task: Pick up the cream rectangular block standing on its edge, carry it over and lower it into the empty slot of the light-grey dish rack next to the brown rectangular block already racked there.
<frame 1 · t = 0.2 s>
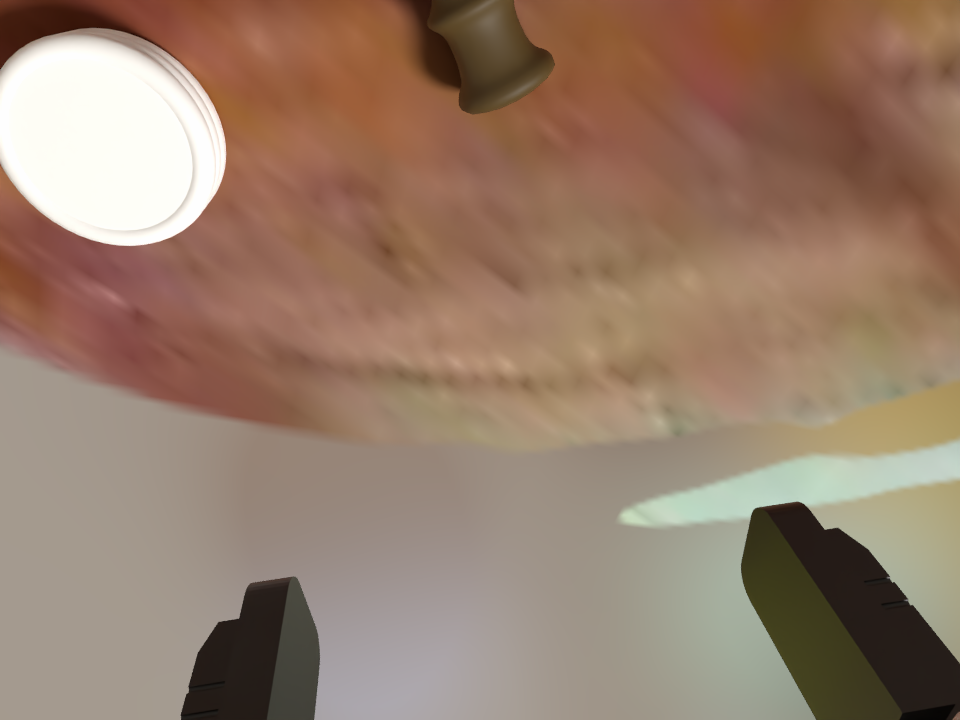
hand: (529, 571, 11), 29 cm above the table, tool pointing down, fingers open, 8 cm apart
white round tin: (129, 133, 33), on the table
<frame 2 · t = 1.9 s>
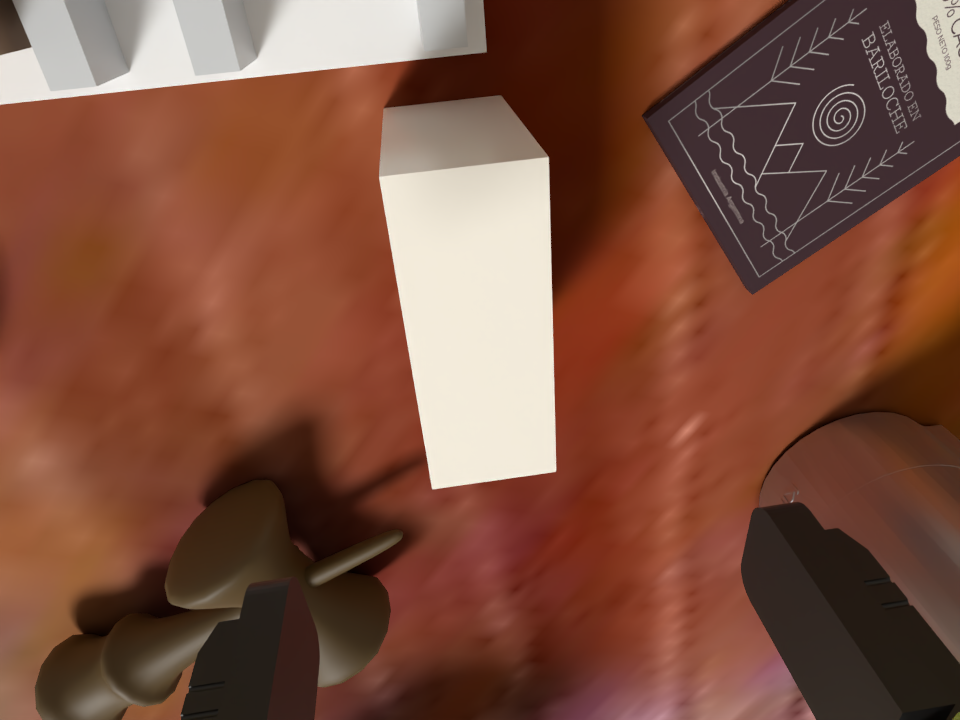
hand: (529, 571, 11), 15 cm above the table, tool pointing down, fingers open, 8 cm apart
kendama: (240, 567, 33), on the table
chocolate bar: (908, 47, 23), on the table
cream rectangular block: (457, 239, 24), on the table
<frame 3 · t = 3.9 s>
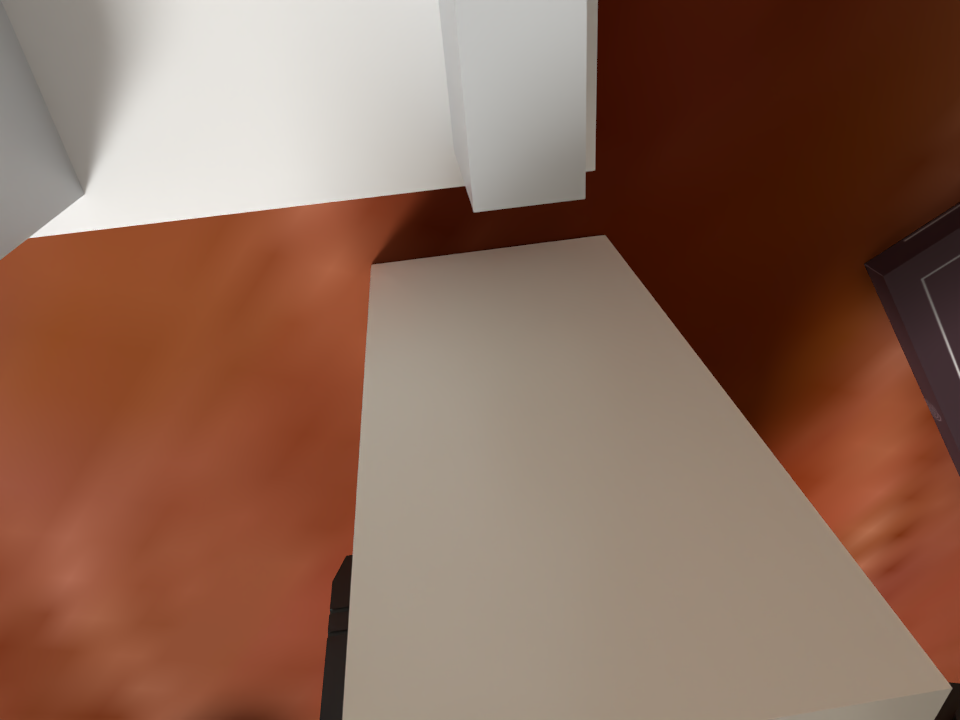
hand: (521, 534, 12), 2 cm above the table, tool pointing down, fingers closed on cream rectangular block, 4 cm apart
cream rectangular block: (507, 468, 13), on the table, touching gripper
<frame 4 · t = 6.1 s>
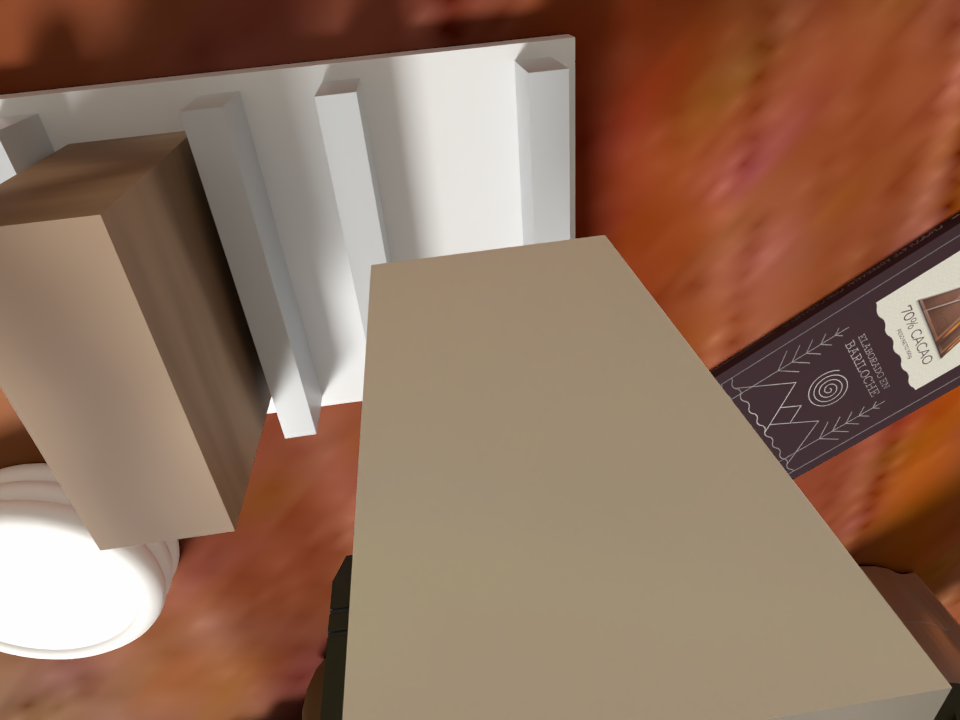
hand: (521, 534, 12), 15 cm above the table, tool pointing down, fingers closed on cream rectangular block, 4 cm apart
dish rack: (324, 250, 24), on the table
brown rectangular block: (184, 277, 23), resting on dish rack
white round tin: (74, 532, 31), on the table
kendama: (347, 693, 41), on the table
chocolate bar: (880, 336, 30), on the table
cream rectangular block: (507, 468, 13), point 13 cm above the table, touching gripper
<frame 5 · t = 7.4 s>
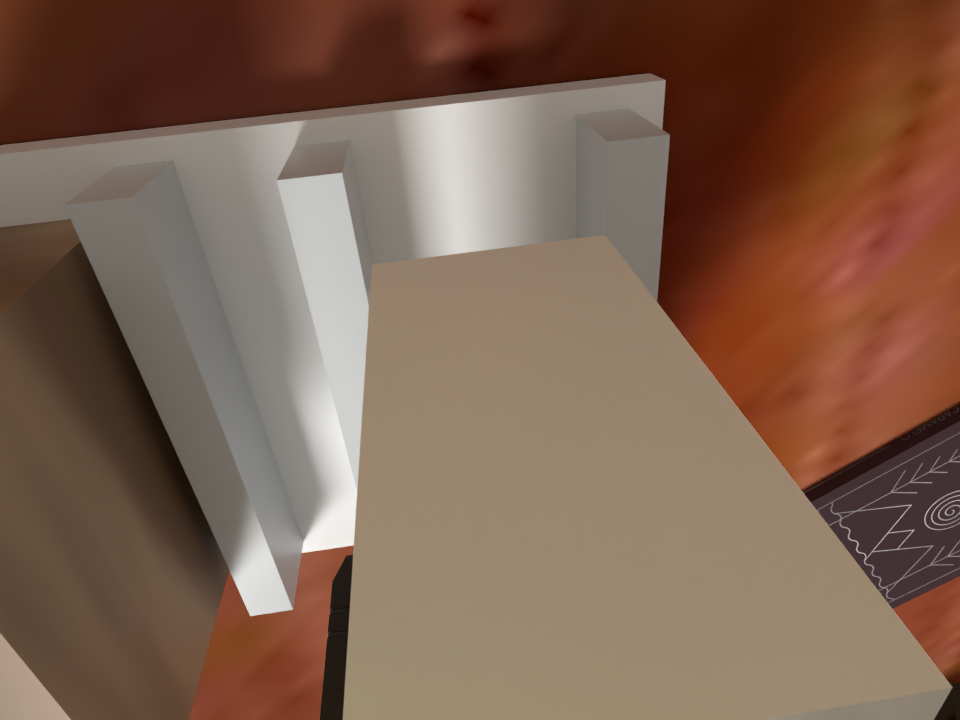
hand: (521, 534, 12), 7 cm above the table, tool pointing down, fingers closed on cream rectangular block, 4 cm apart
dish rack: (304, 361, 18), on the table
brown rectangular block: (108, 406, 17), resting on dish rack
cream rectangular block: (507, 468, 13), point 5 cm above the table, touching gripper
when the fingers open (4 cm above the table, at t = 8.3 s): cream rectangular block drops 2 cm, resting on dish rack.
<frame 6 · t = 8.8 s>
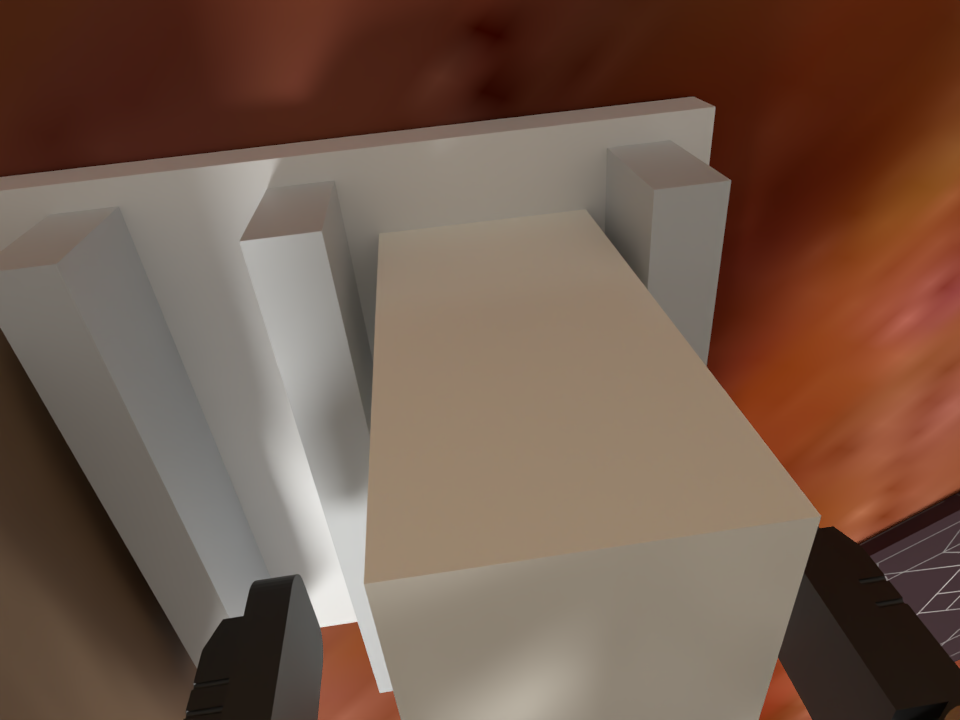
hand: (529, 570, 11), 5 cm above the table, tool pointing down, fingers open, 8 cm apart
dish rack: (286, 425, 15), on the table
brown rectangular block: (56, 484, 14), resting on dish rack
cream rectangular block: (499, 425, 15), point 1 cm above the table, touching dish rack
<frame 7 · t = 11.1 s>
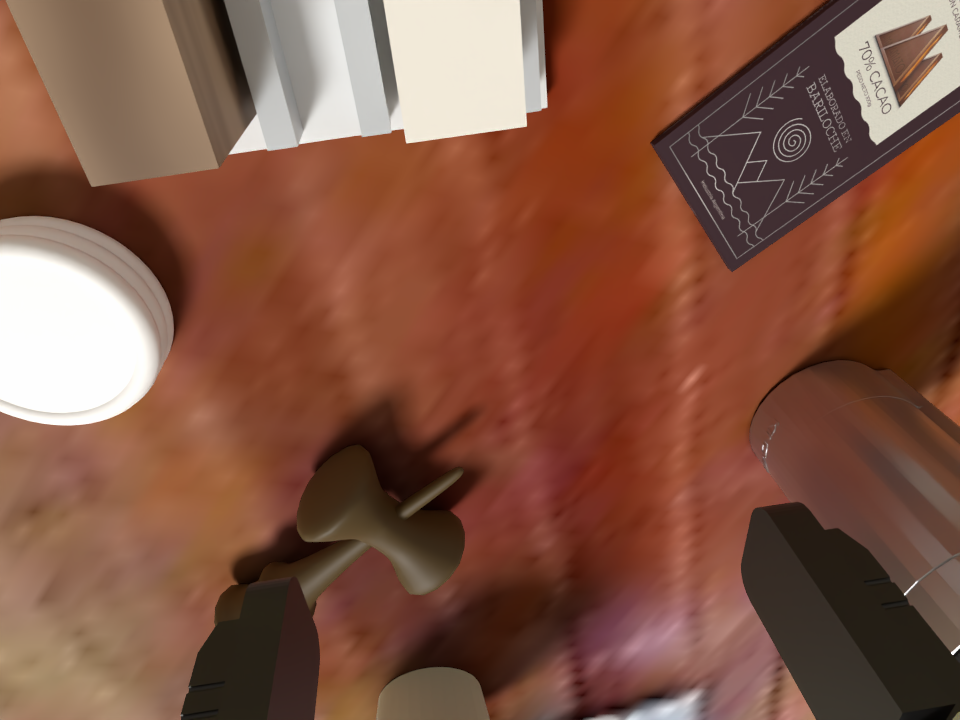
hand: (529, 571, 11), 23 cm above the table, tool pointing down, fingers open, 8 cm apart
reusable coffee cup: (430, 694, 55), on the table
white round tin: (70, 306, 32), on the table
kendama: (346, 517, 43), on the table
chocolate bar: (841, 89, 32), on the table
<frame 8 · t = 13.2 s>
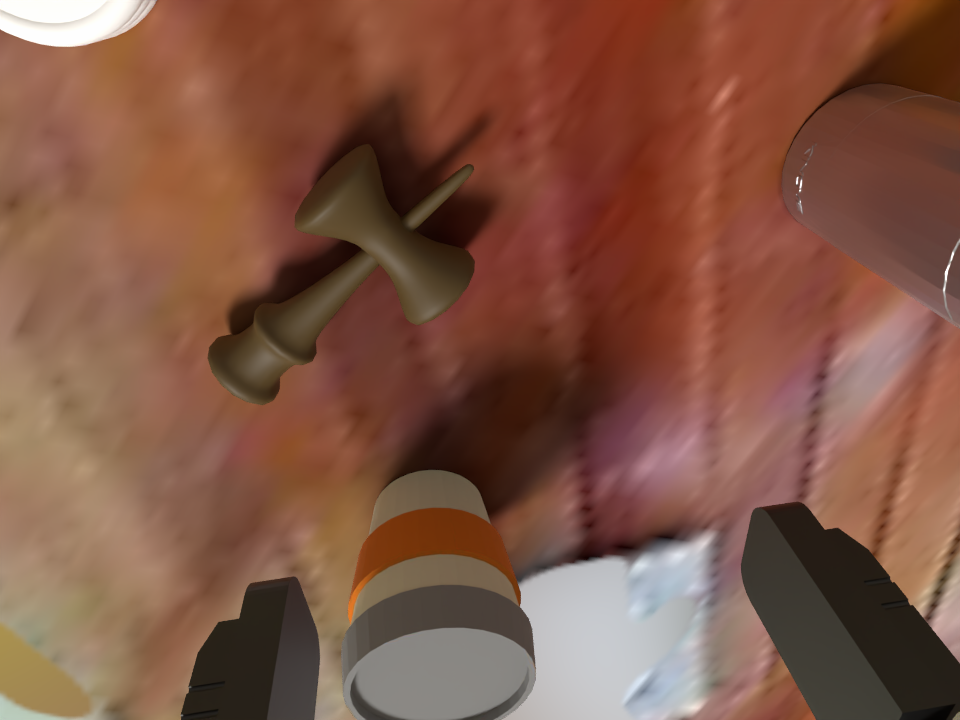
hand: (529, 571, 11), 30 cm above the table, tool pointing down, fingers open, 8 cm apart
reusable coffee cup: (429, 508, 52), on the table
kendama: (348, 259, 40), on the table
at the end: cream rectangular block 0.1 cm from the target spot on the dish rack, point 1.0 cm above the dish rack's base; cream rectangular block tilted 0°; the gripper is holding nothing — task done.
